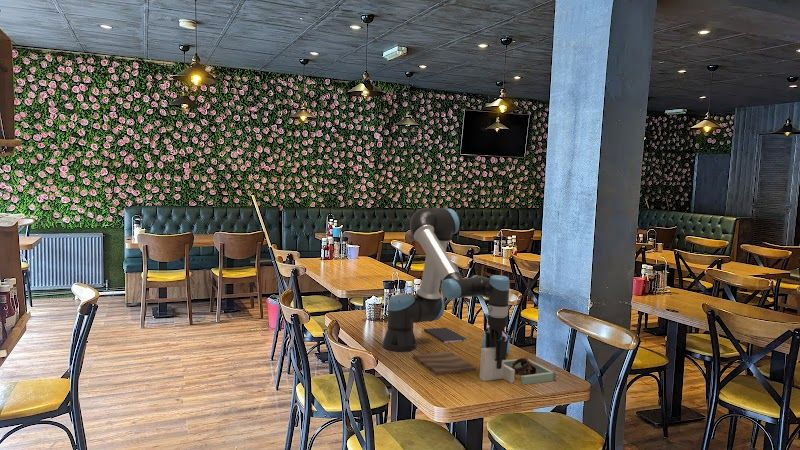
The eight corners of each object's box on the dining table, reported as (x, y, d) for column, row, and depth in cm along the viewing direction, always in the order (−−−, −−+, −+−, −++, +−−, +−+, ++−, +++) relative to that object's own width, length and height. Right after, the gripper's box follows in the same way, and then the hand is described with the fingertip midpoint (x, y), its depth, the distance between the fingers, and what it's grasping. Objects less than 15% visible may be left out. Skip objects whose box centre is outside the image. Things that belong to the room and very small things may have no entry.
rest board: (412, 357, 241) (412, 355, 241) (449, 354, 249) (449, 351, 248) (436, 374, 221) (436, 372, 221) (475, 370, 229) (476, 367, 229)
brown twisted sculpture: (540, 382, 219) (531, 365, 217) (517, 389, 222) (508, 373, 220) (538, 365, 230) (530, 349, 229) (516, 372, 233) (508, 356, 231)
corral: (495, 368, 232) (495, 361, 232) (525, 364, 238) (526, 358, 238) (523, 384, 215) (523, 377, 214) (555, 380, 221) (556, 372, 221)
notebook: (423, 332, 284) (443, 344, 265) (423, 329, 284) (444, 340, 265) (445, 330, 290) (467, 342, 270) (446, 327, 290) (467, 338, 270)
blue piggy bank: (472, 350, 256) (473, 328, 255) (496, 346, 263) (497, 325, 262) (497, 362, 241) (498, 339, 240) (522, 358, 247) (524, 335, 247)
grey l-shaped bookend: (472, 374, 224) (474, 344, 223) (494, 371, 228) (496, 342, 227) (491, 385, 212) (492, 354, 211) (514, 382, 217) (515, 352, 216)
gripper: (478, 311, 224) (475, 368, 226) (501, 321, 210) (498, 382, 212) (494, 310, 227) (490, 366, 229) (518, 320, 213) (514, 380, 215)
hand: (494, 374), depth 220 cm, fingers closed on grey l-shaped bookend, 3 cm apart
